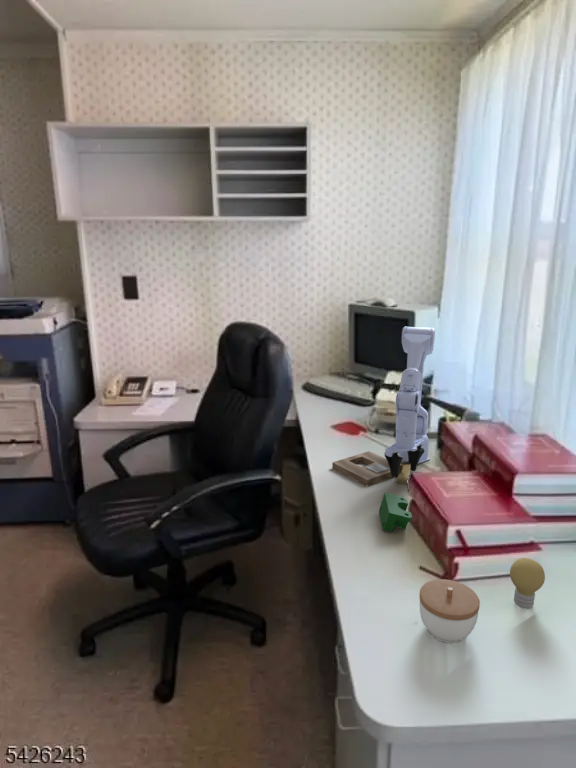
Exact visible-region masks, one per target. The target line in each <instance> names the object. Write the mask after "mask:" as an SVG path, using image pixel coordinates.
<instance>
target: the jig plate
mask: <svg viewBox="0 0 576 768" xmlns="http://www.w3.org/2000/svg"><path fill="white" fill-rule="evenodd" d="M360 462H361V463H363V464H365V465H363V466H360V465H358V464H361V463H360ZM331 465H332V466H331V468H332V469H333V470H335V471H336V472H337V471H338V472H339V473H341V474H343V475H344V476H347V477H349V478H350V477H351V479H352V478H353V480H354V479H355V481H356V480H357V482H359V483H360V484H362V485H364V486H366V487H369V486H372V485H374V484H377V483H380V482H382V481H386V480H388V479H391V478H394V477H393V476H391V471H390V467H389V464H388V461H387V459H386V457H383V456H381V455H379V454H376V453H374V452H372V451H370V450H368V451H365V452H362V453H357V454H355V455H352V456H349V457H346V458H343V459H339V460H335V461H332V463H331Z"/></svg>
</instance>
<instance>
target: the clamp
mask: <svg viewBox="0 0 576 768" xmlns="http://www.w3.org/2000/svg"><path fill="white" fill-rule="evenodd" d="M408 506H409V502H408V499H407V498H405V497H403V496H400V495H396V494H392V493H388V492H384V494H383V497H382V500H381V502H380V507H379V509H378V513H379V519H380V524H381V529H382V531H385V532H390V533H392V532H393V529H394V527H397V528H399V529H404V530H406V529H407V526H408V523H410V522H411V521H412V518H413V515H412V512H411V511H407V508H408Z"/></svg>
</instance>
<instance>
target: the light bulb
mask: <svg viewBox="0 0 576 768" xmlns="http://www.w3.org/2000/svg"><path fill="white" fill-rule="evenodd" d="M509 570H510V571H509V576H510V579H511V582H512V585H514V587H515V588H514V595H513V602H514V604H515V605H516V606H518V607H520V608H521V609H526V610H528V609H531V608H533V607H534V605H535V597H536V593H535V592H537V591H539V590H540V589H541V588H542V587H543V585H544V583H545V580H546V574H545V570H544V568H543V566H542V565H541V564H540V563H539V562H538V561H536V560H534V559H532V558H530V557H529V558H527V557H520V558H518V559H516V560H515V561H514V562H512V565H511V566H510V569H509Z"/></svg>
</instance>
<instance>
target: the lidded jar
mask: <svg viewBox="0 0 576 768" xmlns="http://www.w3.org/2000/svg"><path fill="white" fill-rule="evenodd" d="M420 587H421V588H420V589H419V614H420V618H421V621H422V623H423V625H424V627H425V628H426V630H427V631H428V632H429V633H430V634H431V636H432V637H433V638H435V640H437V641H440V642H442V643H445V644H455V643H456V644H457V643H459V642H460V641H461V640H464V639H465V638H467V637H468V636H469V635H470V634H471V633H472V631H473V630H474V629H475V627H476V623H477V621H478V617H479V610H480V605H481V603H480V601H481V600H480V598H479V596H478V595H477V593H476V592H475V591H474V589H472V588H471V587H469V586H468V585H466V584H464V583H462V582H459V581H456V580H453V579H452V580H451V579H445V578H444V579H443V578H442V579H433V580H430V581H427V582H425V583H424V584H423V585H422V586H420Z"/></svg>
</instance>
